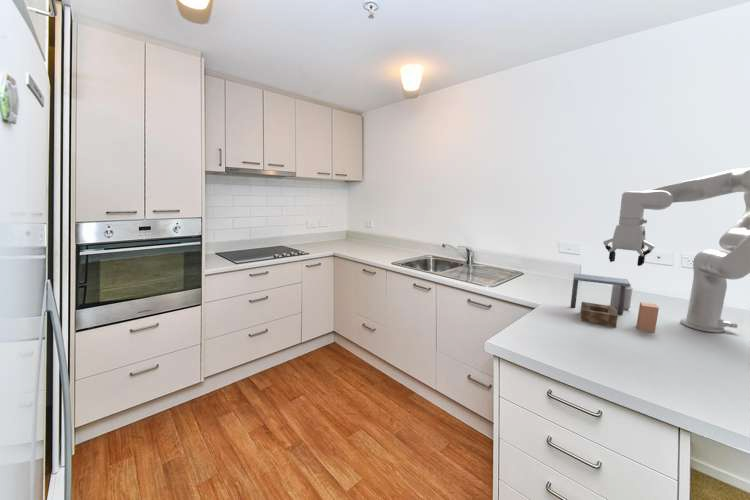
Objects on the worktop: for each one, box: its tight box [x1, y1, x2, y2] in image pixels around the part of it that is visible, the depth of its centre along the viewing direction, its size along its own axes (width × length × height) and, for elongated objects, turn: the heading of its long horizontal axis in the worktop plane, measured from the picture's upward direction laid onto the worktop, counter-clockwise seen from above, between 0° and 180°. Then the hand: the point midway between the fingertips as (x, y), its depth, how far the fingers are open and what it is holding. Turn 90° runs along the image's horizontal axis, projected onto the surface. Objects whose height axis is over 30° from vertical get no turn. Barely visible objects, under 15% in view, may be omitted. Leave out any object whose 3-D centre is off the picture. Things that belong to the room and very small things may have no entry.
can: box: [609, 283, 634, 311], centre depth 153 cm, size 8×8×12 cm
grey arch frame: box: [569, 272, 631, 316], centre depth 145 cm, size 20×9×16 cm, turn 59°
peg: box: [636, 301, 660, 333], centre depth 129 cm, size 5×5×10 cm
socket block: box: [580, 301, 619, 328], centre depth 139 cm, size 12×13×5 cm
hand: (625, 263), depth 134 cm, fingers open, 9 cm apart
